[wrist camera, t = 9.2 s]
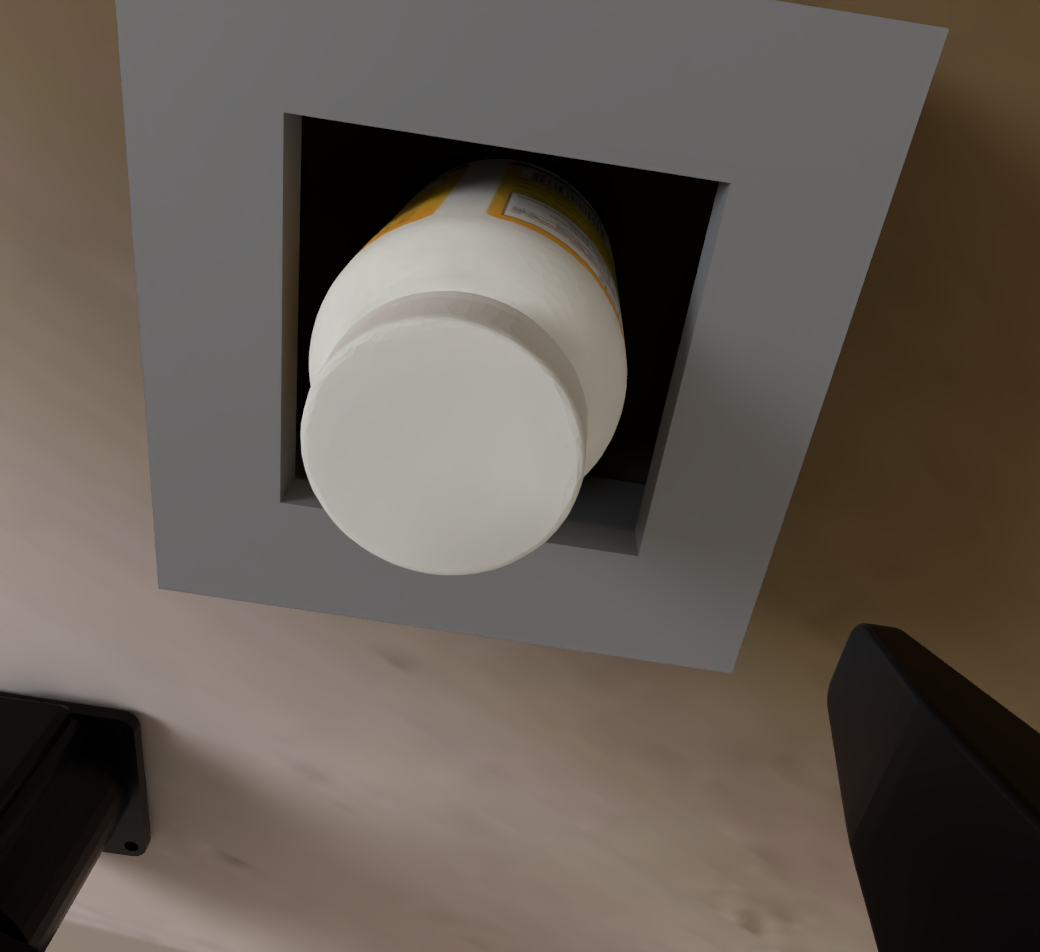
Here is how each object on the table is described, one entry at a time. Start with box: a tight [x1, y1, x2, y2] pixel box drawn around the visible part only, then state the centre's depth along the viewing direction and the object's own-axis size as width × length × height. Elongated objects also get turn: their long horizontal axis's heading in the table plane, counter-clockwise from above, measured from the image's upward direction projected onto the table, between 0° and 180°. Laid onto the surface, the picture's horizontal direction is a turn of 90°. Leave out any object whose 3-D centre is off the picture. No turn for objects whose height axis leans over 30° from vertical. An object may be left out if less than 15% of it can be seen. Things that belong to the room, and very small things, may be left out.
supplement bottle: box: [300, 159, 627, 575], centre depth 16 cm, size 5×5×10 cm
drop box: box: [115, 0, 949, 673], centre depth 17 cm, size 12×12×6 cm
